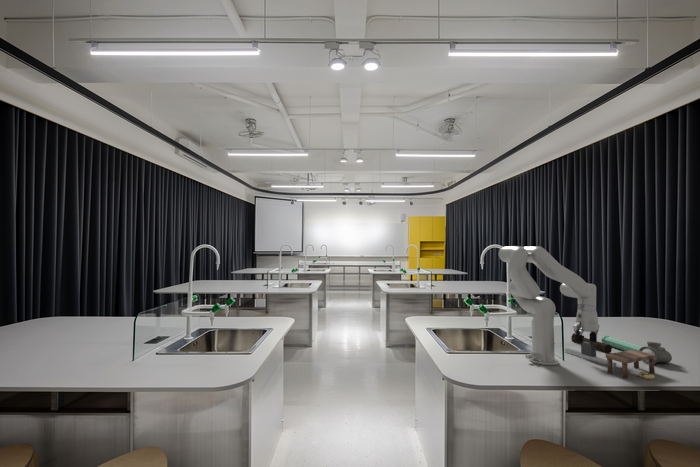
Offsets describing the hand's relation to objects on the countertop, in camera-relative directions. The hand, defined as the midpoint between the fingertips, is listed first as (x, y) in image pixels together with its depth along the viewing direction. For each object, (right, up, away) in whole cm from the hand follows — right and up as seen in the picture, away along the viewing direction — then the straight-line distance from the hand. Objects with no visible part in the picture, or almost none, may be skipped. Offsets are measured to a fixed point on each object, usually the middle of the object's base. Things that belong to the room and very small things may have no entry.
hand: (586, 342), depth 163 cm
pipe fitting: (+31, -9, -5) cm, 32 cm away
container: (+31, -9, +11) cm, 34 cm away
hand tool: (+16, -10, +20) cm, 27 cm away
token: (+9, -8, -23) cm, 26 cm away
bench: (+7, -8, -18) cm, 21 cm away
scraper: (+1, -9, 0) cm, 9 cm away
